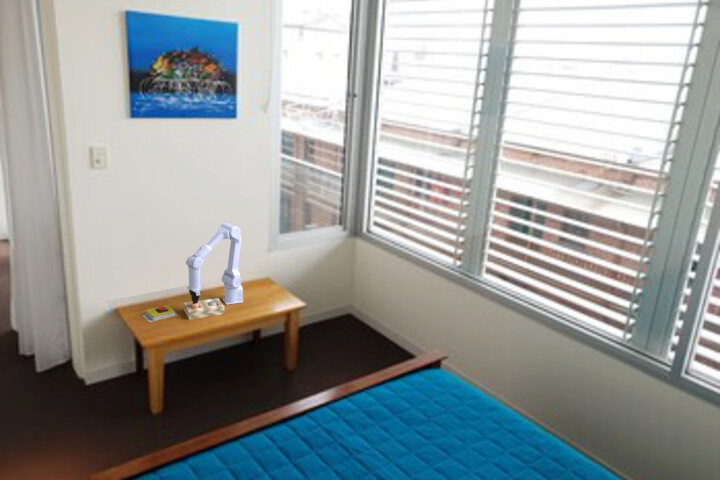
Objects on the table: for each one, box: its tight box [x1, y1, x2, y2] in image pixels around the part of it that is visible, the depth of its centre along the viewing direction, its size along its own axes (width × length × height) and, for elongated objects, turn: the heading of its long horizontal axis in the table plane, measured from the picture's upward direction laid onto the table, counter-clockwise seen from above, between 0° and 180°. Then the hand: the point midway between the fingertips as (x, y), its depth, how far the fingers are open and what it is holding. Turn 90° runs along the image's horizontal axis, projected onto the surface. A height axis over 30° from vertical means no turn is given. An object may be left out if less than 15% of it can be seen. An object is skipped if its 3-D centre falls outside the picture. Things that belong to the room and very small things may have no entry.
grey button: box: [209, 301, 217, 306], centre depth 296 cm, size 4×4×4 cm
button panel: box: [183, 297, 226, 320], centre depth 294 cm, size 18×12×4 cm, turn 119°
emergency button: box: [142, 304, 178, 323], centre depth 287 cm, size 9×4×15 cm
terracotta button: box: [191, 301, 199, 309], centre depth 291 cm, size 4×4×4 cm
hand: (195, 303), depth 290 cm, fingers closed, pressing on terracotta button
